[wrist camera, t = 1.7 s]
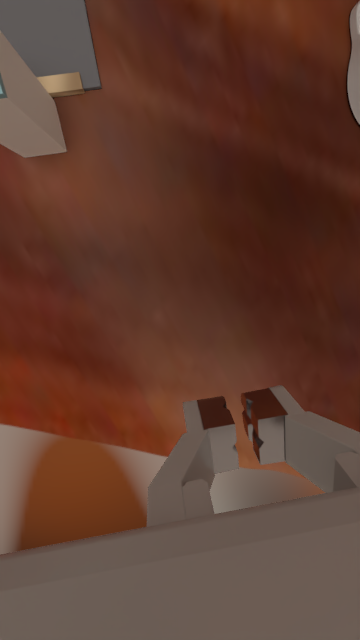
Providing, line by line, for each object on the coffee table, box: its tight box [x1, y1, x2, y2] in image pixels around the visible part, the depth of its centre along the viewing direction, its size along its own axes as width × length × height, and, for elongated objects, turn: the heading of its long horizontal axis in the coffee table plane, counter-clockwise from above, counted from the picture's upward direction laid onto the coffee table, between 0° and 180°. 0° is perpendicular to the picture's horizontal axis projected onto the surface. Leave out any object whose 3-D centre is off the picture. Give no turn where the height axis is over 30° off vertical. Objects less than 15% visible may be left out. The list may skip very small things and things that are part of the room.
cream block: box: [0, 31, 67, 158], centre depth 24 cm, size 5×5×14 cm
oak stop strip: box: [36, 72, 85, 98], centre depth 29 cm, size 12×2×1 cm, turn 98°
